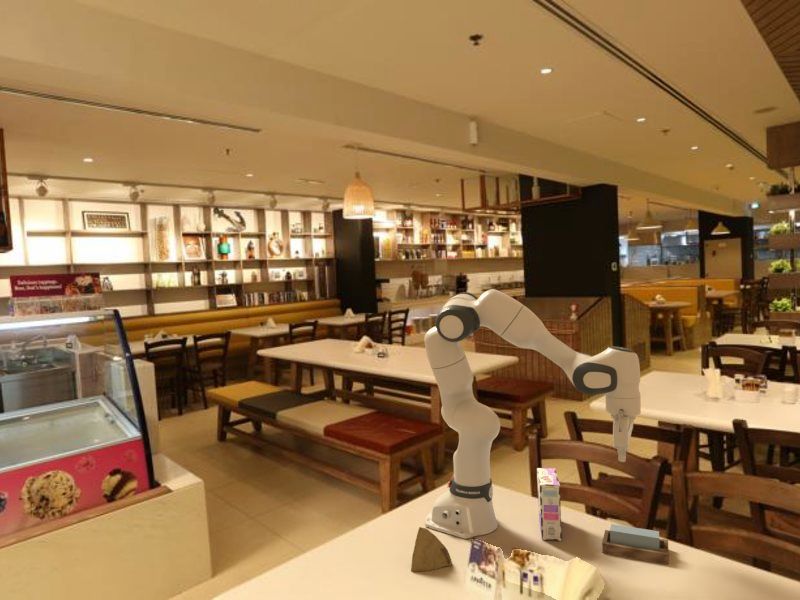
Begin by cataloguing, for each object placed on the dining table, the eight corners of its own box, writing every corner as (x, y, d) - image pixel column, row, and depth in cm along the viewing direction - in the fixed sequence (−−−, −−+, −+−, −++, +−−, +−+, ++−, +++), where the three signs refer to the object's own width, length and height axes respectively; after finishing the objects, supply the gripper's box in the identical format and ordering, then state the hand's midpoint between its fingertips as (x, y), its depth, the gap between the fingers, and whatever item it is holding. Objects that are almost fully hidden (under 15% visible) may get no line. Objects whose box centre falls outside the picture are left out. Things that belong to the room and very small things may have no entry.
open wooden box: (602, 552, 142) (601, 537, 142) (605, 538, 149) (604, 524, 149) (668, 564, 135) (668, 548, 134) (668, 549, 142) (667, 534, 142)
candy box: (562, 541, 149) (560, 485, 148) (541, 540, 150) (539, 484, 149) (558, 519, 162) (555, 467, 161) (538, 518, 163) (536, 466, 163)
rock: (458, 549, 143) (424, 538, 147) (454, 534, 138) (419, 523, 142) (445, 589, 136) (410, 576, 140) (440, 575, 131) (404, 562, 135)
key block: (659, 556, 137) (659, 538, 137) (610, 548, 143) (609, 530, 142) (659, 549, 141) (659, 531, 141) (611, 541, 146) (611, 523, 146)
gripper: (633, 416, 132) (633, 469, 133) (637, 398, 150) (637, 446, 151) (606, 413, 135) (607, 466, 136) (613, 397, 153) (614, 443, 154)
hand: (623, 455), depth 143 cm, fingers open, 8 cm apart
